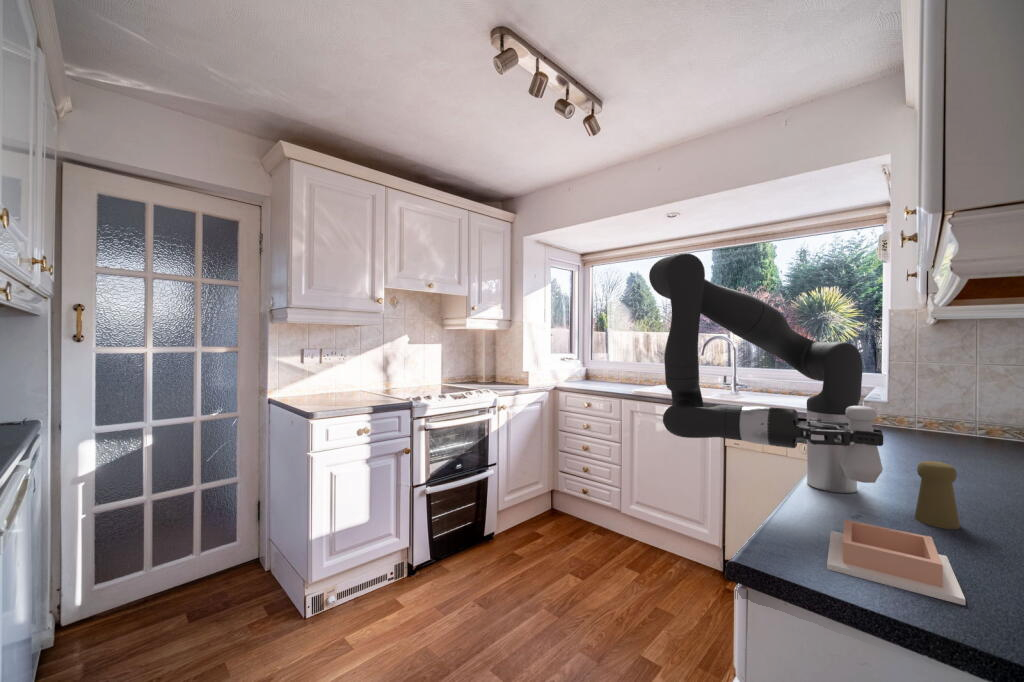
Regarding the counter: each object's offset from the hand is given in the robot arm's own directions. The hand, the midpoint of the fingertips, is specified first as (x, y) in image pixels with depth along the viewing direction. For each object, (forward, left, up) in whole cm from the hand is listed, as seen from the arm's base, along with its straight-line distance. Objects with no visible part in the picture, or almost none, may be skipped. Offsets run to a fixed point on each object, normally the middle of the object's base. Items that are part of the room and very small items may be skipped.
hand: (882, 437), depth 75 cm
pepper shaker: (-12, +8, -17) cm, 22 cm away
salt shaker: (0, -3, -8) cm, 8 cm away
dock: (+14, 0, -17) cm, 22 cm away
